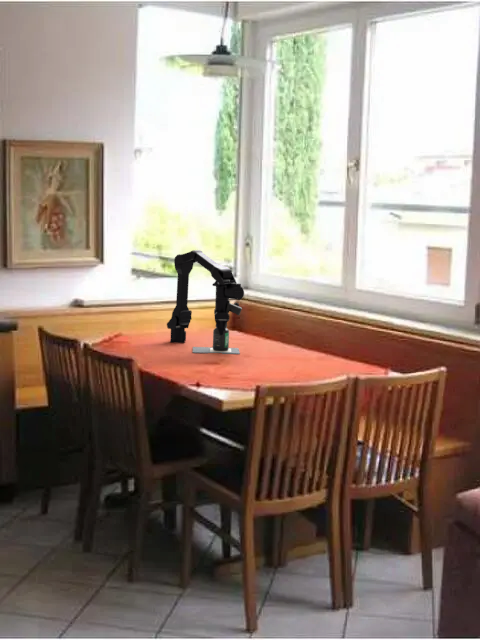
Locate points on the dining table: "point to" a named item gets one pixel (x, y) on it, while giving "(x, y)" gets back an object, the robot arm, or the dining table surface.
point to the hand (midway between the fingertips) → (221, 333)
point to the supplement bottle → (221, 339)
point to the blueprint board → (210, 350)
